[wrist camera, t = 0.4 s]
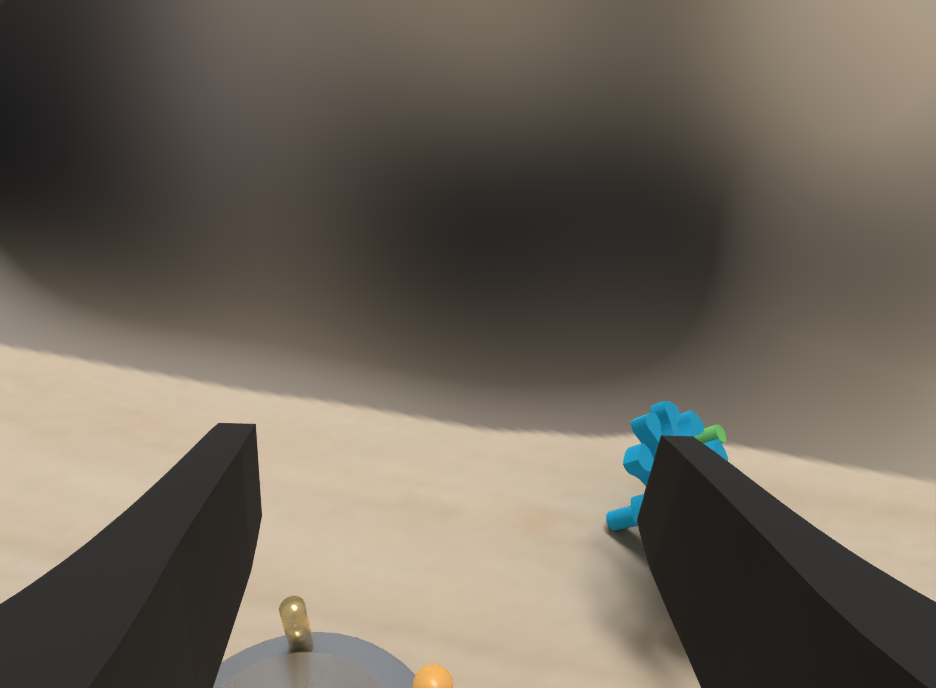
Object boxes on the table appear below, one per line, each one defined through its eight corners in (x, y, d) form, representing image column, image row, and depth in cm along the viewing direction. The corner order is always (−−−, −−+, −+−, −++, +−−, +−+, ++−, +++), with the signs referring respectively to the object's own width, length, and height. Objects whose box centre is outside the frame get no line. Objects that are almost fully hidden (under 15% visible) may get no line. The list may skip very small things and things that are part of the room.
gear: (745, 660, 28) (623, 465, 27) (629, 667, 32) (520, 496, 31) (783, 508, 36) (691, 356, 35) (688, 528, 40) (604, 392, 39)
